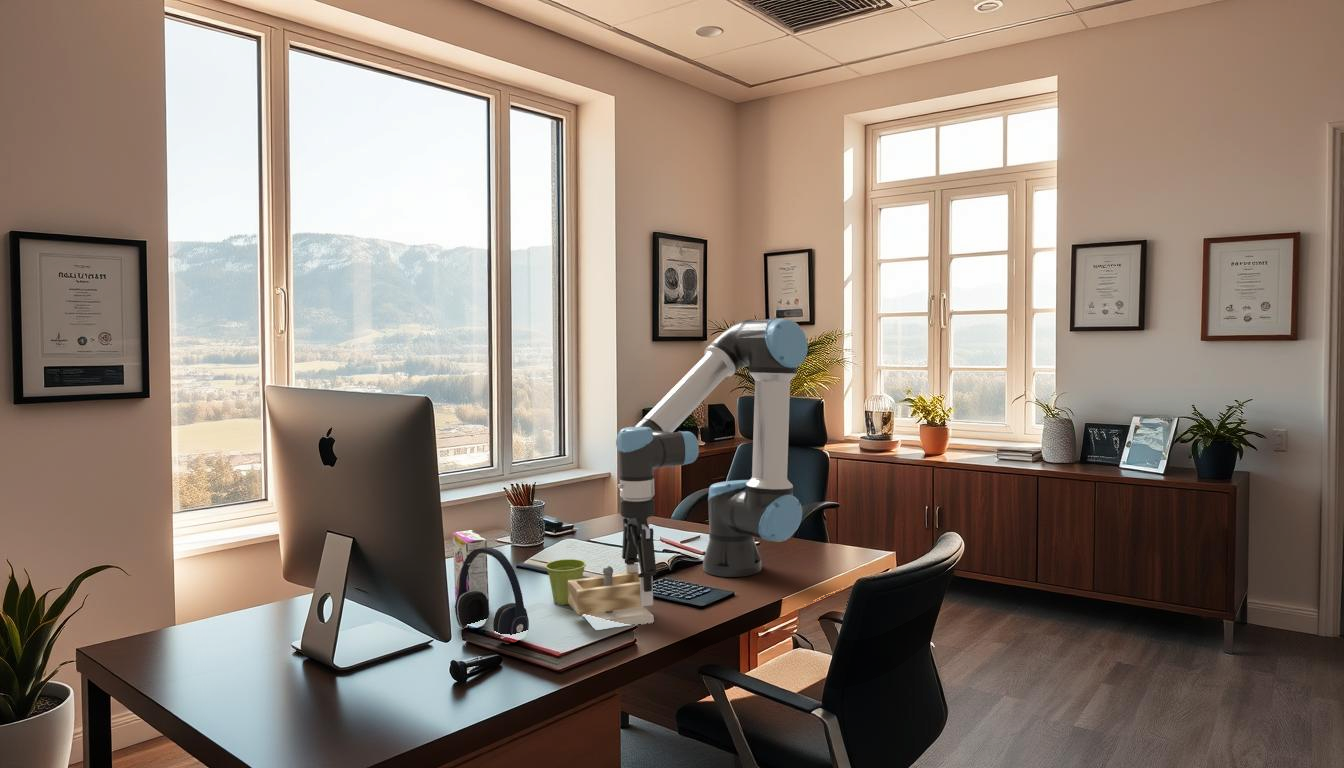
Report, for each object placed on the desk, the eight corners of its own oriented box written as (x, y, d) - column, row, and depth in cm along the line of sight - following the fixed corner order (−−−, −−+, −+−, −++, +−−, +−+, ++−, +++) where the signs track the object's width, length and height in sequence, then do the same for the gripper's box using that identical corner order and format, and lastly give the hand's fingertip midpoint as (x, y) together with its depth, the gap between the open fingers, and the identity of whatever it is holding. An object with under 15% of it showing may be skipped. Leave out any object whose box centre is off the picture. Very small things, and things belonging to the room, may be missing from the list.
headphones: (449, 629, 186) (446, 544, 185) (477, 621, 191) (474, 538, 190) (507, 651, 173) (504, 560, 171) (534, 641, 178) (532, 553, 177)
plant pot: (580, 608, 198) (579, 570, 198) (540, 606, 200) (539, 569, 200) (592, 595, 208) (591, 559, 207) (554, 594, 209) (553, 558, 209)
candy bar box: (453, 601, 206) (451, 532, 205) (474, 597, 208) (472, 529, 207) (468, 613, 196) (466, 541, 195) (490, 609, 199) (487, 538, 198)
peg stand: (634, 605, 200) (633, 555, 199) (653, 622, 188) (652, 569, 187) (579, 612, 195) (577, 561, 195) (595, 631, 183) (593, 576, 182)
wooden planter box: (637, 593, 198) (637, 571, 197) (650, 605, 189) (650, 582, 189) (568, 602, 192) (567, 580, 192) (578, 615, 184) (577, 591, 183)
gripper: (606, 491, 201) (609, 587, 202) (636, 508, 180) (639, 616, 182) (637, 488, 203) (639, 583, 205) (670, 505, 183) (672, 611, 184)
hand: (639, 598), depth 193 cm, fingers closed on wooden planter box, 9 cm apart
